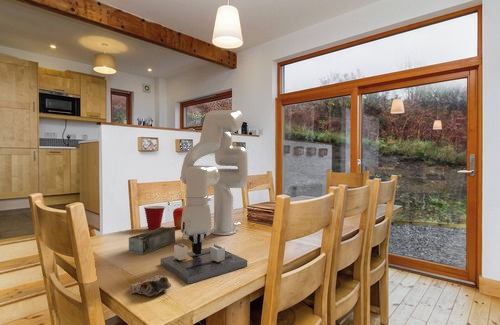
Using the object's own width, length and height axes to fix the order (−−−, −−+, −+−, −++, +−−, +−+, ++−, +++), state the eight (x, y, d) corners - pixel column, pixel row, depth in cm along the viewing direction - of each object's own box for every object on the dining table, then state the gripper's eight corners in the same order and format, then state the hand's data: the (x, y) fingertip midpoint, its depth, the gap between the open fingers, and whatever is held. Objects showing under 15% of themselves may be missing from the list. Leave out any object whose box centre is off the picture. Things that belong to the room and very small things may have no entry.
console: (215, 251, 110) (215, 245, 110) (247, 266, 94) (247, 259, 94) (160, 264, 96) (160, 257, 96) (188, 284, 80) (188, 276, 80)
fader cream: (182, 255, 97) (182, 242, 97) (187, 258, 94) (187, 245, 94) (174, 257, 96) (174, 243, 95) (179, 260, 92) (179, 246, 92)
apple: (191, 228, 146) (191, 206, 146) (175, 230, 142) (175, 207, 142) (186, 225, 154) (186, 203, 154) (171, 226, 150) (171, 204, 150)
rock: (175, 289, 78) (151, 275, 83) (174, 272, 76) (149, 258, 81) (149, 310, 71) (124, 293, 76) (147, 291, 69) (122, 275, 74)
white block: (218, 256, 96) (218, 243, 96) (224, 259, 93) (224, 246, 93) (210, 258, 94) (210, 245, 94) (217, 261, 91) (217, 248, 91)
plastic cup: (169, 227, 149) (169, 204, 149) (158, 232, 139) (159, 207, 138) (150, 226, 151) (150, 203, 151) (138, 230, 141) (139, 207, 140)
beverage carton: (127, 252, 108) (127, 235, 108) (162, 240, 126) (162, 225, 126) (142, 255, 105) (142, 238, 105) (176, 242, 122) (176, 227, 122)
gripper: (209, 198, 106) (209, 246, 107) (172, 202, 97) (172, 254, 97) (220, 200, 101) (220, 251, 101) (182, 204, 91) (181, 261, 91)
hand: (196, 253), depth 99 cm, fingers closed
